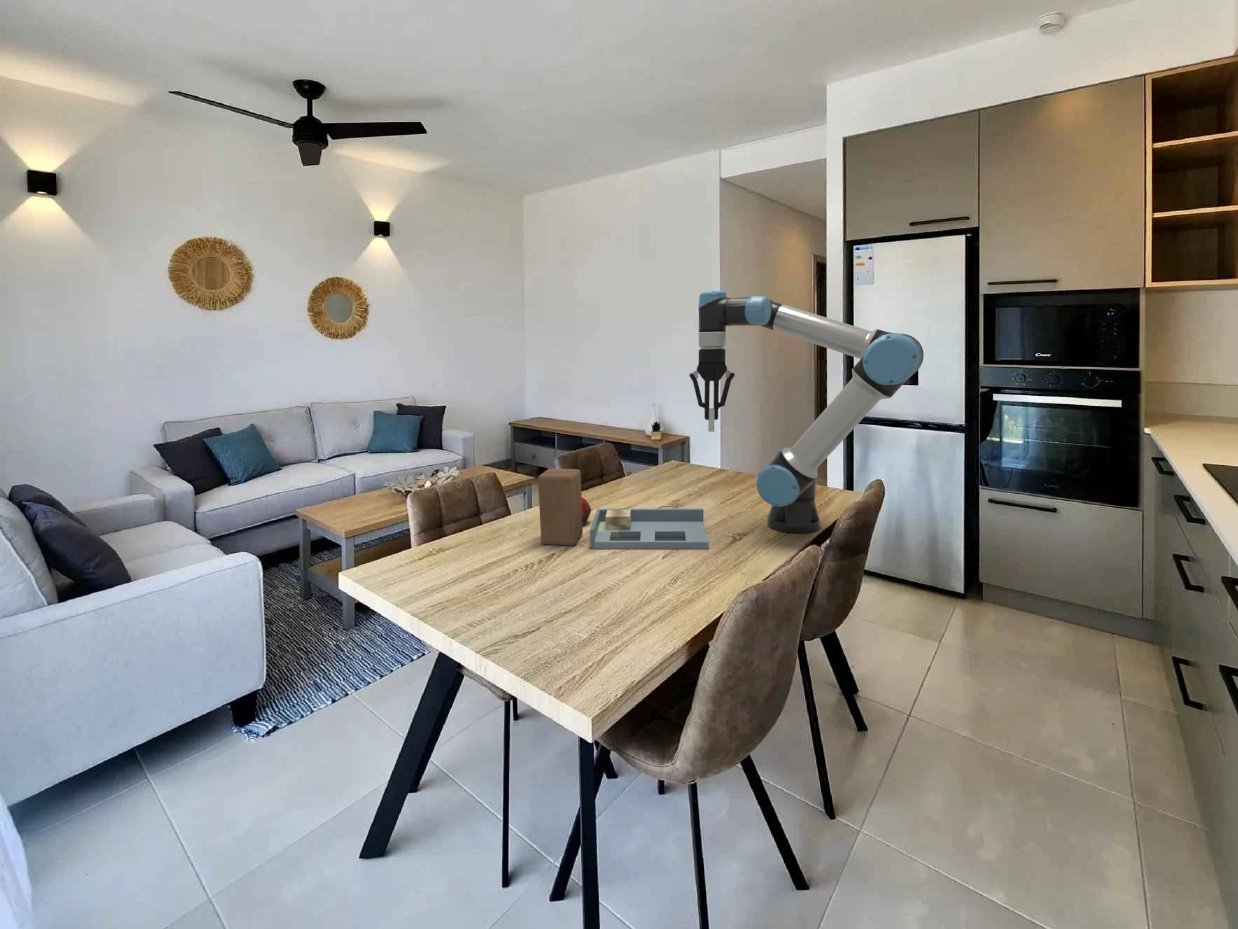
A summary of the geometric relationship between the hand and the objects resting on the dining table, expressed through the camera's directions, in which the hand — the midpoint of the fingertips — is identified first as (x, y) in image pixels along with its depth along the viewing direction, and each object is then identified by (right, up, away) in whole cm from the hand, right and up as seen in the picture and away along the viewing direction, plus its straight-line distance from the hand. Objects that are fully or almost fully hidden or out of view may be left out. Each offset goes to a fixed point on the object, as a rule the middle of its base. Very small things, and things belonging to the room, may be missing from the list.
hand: (711, 430), depth 174 cm
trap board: (-18, -31, -1) cm, 35 cm away
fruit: (-40, -28, +14) cm, 51 cm away
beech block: (-27, -28, +3) cm, 39 cm away
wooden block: (-43, -32, -2) cm, 53 cm away
